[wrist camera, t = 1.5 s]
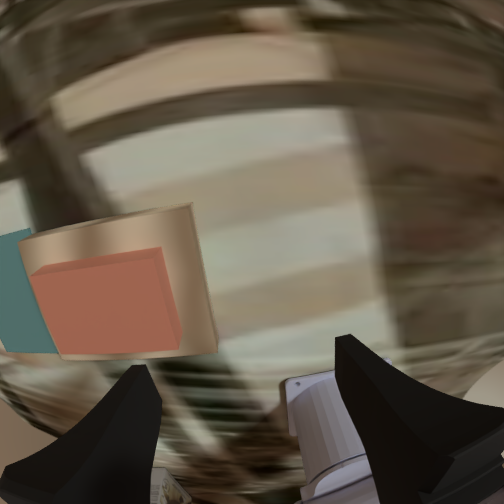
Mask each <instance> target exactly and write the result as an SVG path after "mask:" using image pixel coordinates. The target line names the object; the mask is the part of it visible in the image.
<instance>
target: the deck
mask: <svg viewBox="0 0 504 504" xmlns="http://www.w3.org/2000/svg"><path fill="white" fill-rule="evenodd" d="M17 243H18V247H19V251H20V254H21V257H22V261H23V264H24V267H25V270H26V273H27V276H28V279H29V282H30V285H31V288H32V291H33V293H34V296H35V299H36V301H37V304H38V306H39V309H40V312H41V314H42V316H43V319H44V321H45V324H46V326H47V328H48V331H49V333H50V335H51V337H52V340H53V342H54V344H55V346H56V348H57V350H58V352H59V354H60V357H61V359H62V360H123V359H146V358H162V357H176V356H189V355H200V354H210V353H218V339H219V336H218V331H217V327H216V322H215V318H214V313H213V308H212V303H211V298H210V294H209V289H208V284H207V279H206V274H205V269H204V263H203V258H202V253H201V247H200V242H199V237H198V231H197V225H196V220H195V214H194V208H193V202H190V203H184V204H178V205H172V206H166V207H160V208H155V209H149V210H144V211H138V212H133V213H128V214H122V215H117V216H112V217H107V218H102V219H97V220H92V221H88V222H83V223H78V224H74V225H69V226H65V227H60V228H56V229H52V230H47V231H43V232H39V233H35V234H31V235H29V236H27V237H26V238H24V239H22V240H20V241H18V242H17ZM155 247H162V251H163V256H164V260H165V265H166V269H167V273H168V277H169V281H170V286H171V290H172V294H173V297H174V301H175V305H176V309H177V313H178V317H179V320H180V324H181V328H182V331H183V333H182V337H181V341H180V345H179V350H168V351H154V352H137V353H115V354H61V353H60V351H59V349H58V347H57V345H56V343H55V340H54V338H53V336H52V334H51V331H50V329H49V327H48V325H47V322H46V320H45V317H44V315H43V312H42V310H41V307H40V305H39V302H38V300H37V297H36V294H35V291H34V289H33V286H32V283H31V280H30V277H29V276H31V275H32V274H33V273H35V272H36V271H37V270H38V269H40V268H41V267H42V266H44V265H49V264H55V263H61V262H67V261H73V260H79V259H85V258H91V257H97V256H103V255H110V254H116V253H122V252H129V251H135V250H142V249H148V248H155Z"/></svg>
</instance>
